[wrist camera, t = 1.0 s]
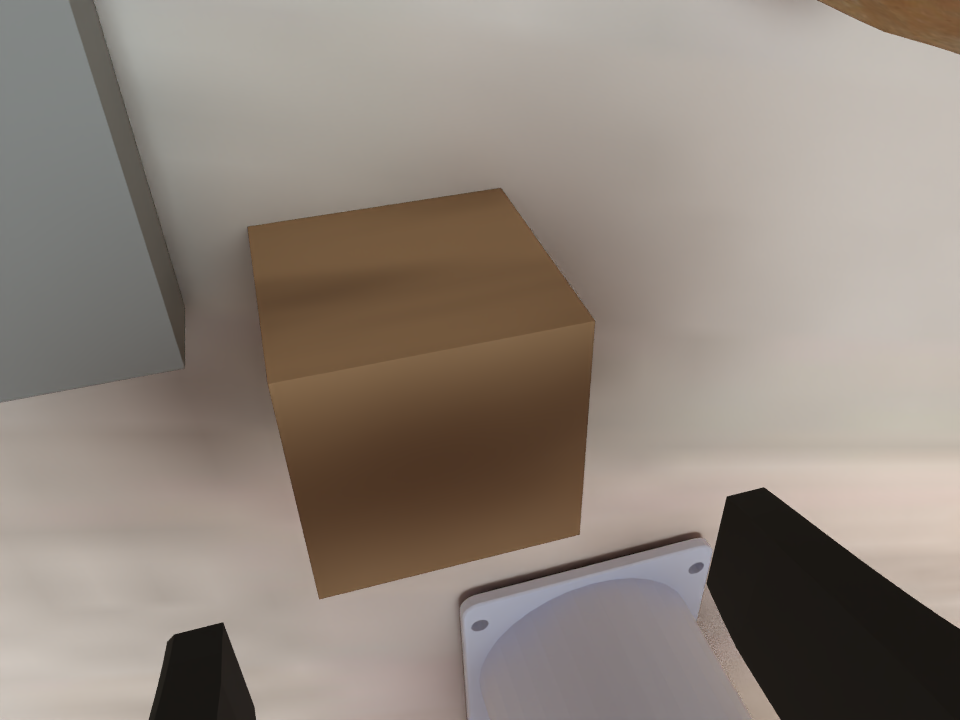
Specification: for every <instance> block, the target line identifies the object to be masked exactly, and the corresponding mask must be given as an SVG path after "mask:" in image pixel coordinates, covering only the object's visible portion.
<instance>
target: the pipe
mask: <svg viewBox="0 0 960 720" xmlns="http://www.w3.org/2000/svg"><path fill="white" fill-rule="evenodd" d="M818 1H820V2H822V3H824V4H826V5H828V6H830V7H832V8H835V9H837V10H839V11H841V12H843V13H845V14H847V15H849V16H851V17H853V18H855V19H857V20H859V21H862V22H864V23H866V24H868V25H870V26H873V27H875V28H877V29H879V30H881V31H884V32H887V33H890V34H894V35H897V36H901V37H904V38H908V39H911V40H915V41H918V42H922V43H925V44H929V45H932V46H936V47H939V48H942V49H945V50H948V51H951V52H954V53H957V54H960V0H818Z"/></svg>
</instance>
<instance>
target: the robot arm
mask: <svg viewBox="0 0 960 720" xmlns="http://www.w3.org/2000/svg"><path fill="white" fill-rule="evenodd" d="M711 556H712V548H711V546H710V545H709V543H708V542H707V541H706V540H705V539H703V538H694V539H690V540H686V541H682V542H678V543H674V544H670V545H667V546H663V547H659V548H655V549H651V550H647V551H643V552H639V553H636V554H632V555H628V556H624V557H620V558H616V559H612V560H608V561H604V562H601V563H597V564H593V565H589V566H585V567H581V568H577V569H573V570H570V571H566V572H562V573H558V574H554V575H550V576H546V577H542V578H538V579H535V580H531V581H527V582H523V583H519V584H515V585H511V586H507V587H504V588H500V589H496V590H492V591H488V592H484V593H480V594H476V595H473V596H471V597H469V598H467V599H466V600H465V601H464V602H463V603H462V605H461V606H460V622H461V636H462V651H463V665H464V679H465V694H466V708H467V720H753V718H752V717H751V715H750V713H749V712H748V710H747V708H746V706H745V705H744V703H743V701H742V700H741V698H740V696H739V694H738V693H737V691H736V689H735V687H734V686H733V684H732V682H731V681H730V679H729V677H728V675H727V674H726V672H725V670H724V668H723V667H722V665H721V663H720V662H719V660H718V658H717V656H716V655H715V653H714V651H713V650H712V648H711V646H710V644H709V643H708V641H707V639H706V637H705V636H704V634H703V632H702V631H701V629H700V627H699V625H698V624H697V618H698V613H699V609H700V605H701V600H702V596H703V591H704V587H705V583H706V578H707V574H708V569H709V565H710V561H711ZM707 586H708V588H709V591H710V593H711V595H712V597H713V599H714V602H715V604H716V606H717V608H718V610H719V613H720V615H721V617H722V619H723V621H724V623H725V625H726V627H727V629H728V632H729V634H730V636H731V638H732V640H733V642H734V644H735V646H736V648H737V650H738V651H739V653H740V655H741V656H742V658H743V660H744V661H745V663H746V665H747V666H748V668H749V669H750V671H751V673H752V674H753V676H754V677H755V679H756V681H757V682H758V684H759V686H760V687H761V689H762V690H763V692H764V694H765V695H766V697H767V698H768V700H769V702H770V703H771V705H772V706H773V708H774V710H775V711H776V713H777V714H778V716H779V718H780V719H781V720H960V629H959V628H957V627H956V626H954V625H953V624H951V623H950V622H948V621H947V620H945V619H943V618H942V617H941V616H939V615H938V614H936V613H935V612H933V611H932V610H930V609H929V608H927V607H926V606H924V605H923V604H921V603H920V602H919V601H917V600H916V599H914V598H913V597H911V596H910V595H909V594H907V593H906V592H904V591H903V590H902V589H900V588H899V587H897V586H896V585H895V584H893V583H892V582H890V581H889V580H888V579H886V578H885V577H883V576H882V575H880V574H879V573H878V572H876V571H875V570H874V569H872V568H871V567H869V566H868V565H867V564H865V563H864V562H863V561H861V560H860V559H859V558H857V557H856V556H854V555H853V554H852V553H850V552H849V551H848V550H846V549H845V548H844V547H842V546H841V545H840V544H838V543H837V542H836V541H834V540H833V539H832V538H830V537H829V536H828V535H826V534H825V533H824V532H822V531H821V530H820V529H819V528H817V527H816V526H815V525H813V524H812V523H811V522H809V521H808V520H807V519H805V518H804V517H803V516H801V515H800V514H799V513H797V512H796V511H795V510H793V509H792V508H791V507H790V506H788V505H787V504H786V503H784V502H783V501H782V500H780V499H779V498H778V497H776V496H775V495H774V494H772V493H771V492H769V491H768V490H767V489H765V488H764V487H763V488H759V489H755V490H751V491H747V492H743V493H739V494H735V495H731V496H727V498H726V502H725V507H724V511H723V515H722V519H721V524H720V528H719V532H718V537H717V541H716V545H715V550H714V554H713V558H712V562H711V567H710V571H709V575H708V580H707ZM149 720H256V716H255V708H254V705H253V702H252V699H251V696H250V694H249V691H248V688H247V686H246V683H245V680H244V677H243V675H242V672H241V669H240V667H239V664H238V661H237V659H236V656H235V653H234V650H233V648H232V645H231V642H230V640H229V637H228V634H227V631H226V629H225V626H224V623H219V624H215V625H211V626H207V627H203V628H199V629H195V630H191V631H187V632H183V633H179V634H175V635H173V636H172V638H171V639H170V640H169V641H168V642H167V646H166V651H165V656H164V661H163V666H162V670H161V674H160V678H159V682H158V687H157V691H156V694H155V698H154V702H153V706H152V709H151V713H150V717H149Z"/></svg>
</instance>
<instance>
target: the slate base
mask: <svg viewBox="0 0 960 720" xmlns="http://www.w3.org/2000/svg"><path fill="white" fill-rule="evenodd" d="M184 368H185V307H184V304H183V300H182V297H181V294H180V290H179V287H178V284H177V280H176V277H175V273H174V270H173V267H172V263H171V260H170V257H169V253H168V250H167V247H166V243H165V240H164V237H163V233H162V230H161V227H160V223H159V220H158V216H157V213H156V210H155V206H154V203H153V200H152V196H151V193H150V190H149V186H148V183H147V180H146V176H145V173H144V169H143V166H142V163H141V159H140V156H139V153H138V149H137V146H136V143H135V139H134V136H133V133H132V129H131V126H130V123H129V119H128V116H127V112H126V109H125V106H124V102H123V99H122V96H121V92H120V89H119V86H118V82H117V79H116V76H115V72H114V69H113V65H112V62H111V59H110V55H109V52H108V49H107V45H106V42H105V39H104V35H103V32H102V29H101V25H100V22H99V19H98V15H97V12H96V8H95V5H94V2H93V0H0V403H1V402H6V401H11V400H17V399H22V398H28V397H33V396H38V395H44V394H49V393H55V392H60V391H65V390H71V389H76V388H82V387H87V386H93V385H98V384H103V383H109V382H114V381H120V380H125V379H130V378H136V377H141V376H147V375H152V374H157V373H163V372H168V371H174V370H179V369H184Z"/></svg>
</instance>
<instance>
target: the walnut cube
mask: <svg viewBox="0 0 960 720" xmlns="http://www.w3.org/2000/svg"><path fill="white" fill-rule="evenodd" d="M248 235H249V243H250V250H251V258H252V266H253V274H254V281H255V289H256V297H257V305H258V312H259V320H260V328H261V336H262V344H263V351H264V359H265V367H266V375H267V382H268V387H269V392H270V396H271V400H272V404H273V408H274V412H275V417H276V421H277V425H278V429H279V433H280V437H281V442H282V446H283V450H284V454H285V458H286V462H287V467H288V471H289V475H290V479H291V483H292V488H293V492H294V496H295V500H296V504H297V508H298V513H299V517H300V521H301V525H302V529H303V533H304V538H305V542H306V546H307V550H308V554H309V558H310V563H311V567H312V571H313V575H314V579H315V584H316V588H317V592H318V596H319V599H323V598H327V597H331V596H335V595H339V594H343V593H347V592H351V591H355V590H359V589H363V588H367V587H371V586H375V585H379V584H383V583H387V582H391V581H395V580H399V579H403V578H407V577H411V576H415V575H419V574H423V573H427V572H431V571H435V570H439V569H443V568H447V567H451V566H455V565H459V564H463V563H467V562H471V561H475V560H479V559H483V558H487V557H491V556H495V555H499V554H503V553H508V552H512V551H516V550H520V549H524V548H528V547H532V546H536V545H540V544H544V543H548V542H552V541H556V540H560V539H564V538H568V537H572V536H576V535H580V522H581V508H582V494H583V480H584V466H585V452H586V438H587V425H588V411H589V397H590V383H591V369H592V355H593V342H594V328H595V320H594V319H593V317H592V316H591V315H590V313H589V312H588V310H587V309H586V308H585V306H584V305H583V303H582V302H581V301H580V299H579V298H578V296H577V295H576V293H575V292H574V291H573V289H572V288H571V286H570V285H569V284H568V282H567V281H566V279H565V278H564V276H563V275H562V274H561V272H560V271H559V269H558V268H557V267H556V265H555V264H554V262H553V261H552V260H551V258H550V257H549V255H548V254H547V252H546V251H545V250H544V248H543V247H542V245H541V244H540V243H539V241H538V240H537V238H536V237H535V236H534V234H533V233H532V231H531V230H530V228H529V227H528V226H527V224H526V223H525V221H524V220H523V219H522V217H521V216H520V214H519V213H518V212H517V210H516V209H515V207H514V206H513V204H512V203H511V202H510V200H509V199H508V197H507V196H506V195H505V193H504V192H503V190H502V189H501V188H497V189H491V190H484V191H478V192H471V193H464V194H458V195H451V196H445V197H438V198H432V199H425V200H419V201H412V202H406V203H399V204H393V205H386V206H380V207H373V208H366V209H360V210H353V211H347V212H340V213H334V214H327V215H321V216H314V217H308V218H301V219H295V220H288V221H281V222H275V223H268V224H262V225H255V226H249V227H248Z"/></svg>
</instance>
